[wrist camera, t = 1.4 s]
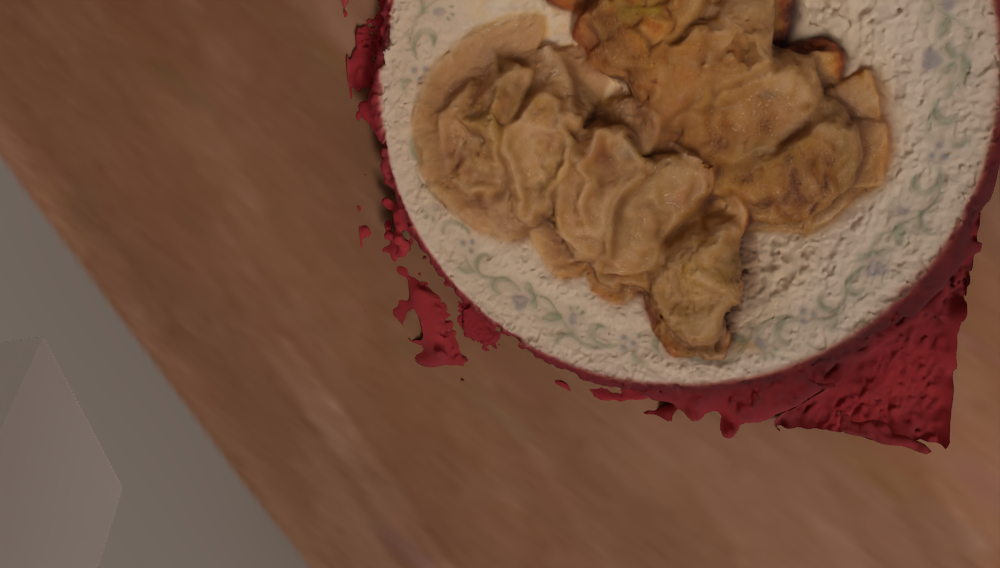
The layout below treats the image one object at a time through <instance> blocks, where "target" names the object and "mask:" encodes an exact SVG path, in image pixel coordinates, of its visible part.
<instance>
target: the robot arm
mask: <svg viewBox="0 0 1000 568" xmlns="http://www.w3.org/2000/svg"><path fill="white" fill-rule="evenodd" d="M122 488H123V487H122V485H121V483H120V481H119V479H118V477H117V476H116V474H115V472H114V470H113V468H112V466H111V464H110V463H109V460H108V459H107V457H106V455H105V453H104V451H103V449H102V447H101V445H100V443H99V441H98V439H97V438H96V436H95V434H94V432H93V430H92V428H91V426H90V424H89V422H88V420H87V419H86V417H85V415H84V413H83V411H82V409H81V407H80V405H79V403H78V402H77V400H76V398H75V396H74V394H73V392H72V390H71V388H70V386H69V384H68V383H67V381H66V379H65V377H64V375H63V373H62V371H61V369H60V367H59V365H58V363H57V362H56V360H55V358H54V356H53V354H52V352H51V350H50V348H49V346H48V344H47V343H46V341H45V339H44V337H35V338H28V339H19V340H11V341H5V342H0V568H99V564H100V561H101V558H102V554H103V551H104V548H105V545H106V541H107V538H108V534H109V531H110V527H111V525H112V521H113V518H114V514H115V511H116V508H117V505H118V501H119V498H120V495H121V491H122Z"/></svg>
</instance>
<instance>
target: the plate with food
mask: <svg viewBox="0 0 1000 568" xmlns="http://www.w3.org/2000/svg"><path fill="white" fill-rule="evenodd" d="M378 1H380V3H379V4H380V7H381V9H382V10H380V11H379V13H378V15H377V16H376V17H375V19H374V20H371V19H368V20H367V24H366V25H364V26H362V27H359V28H357V32H356V35H355V40H356V49H355V50H354V51H353V53H352V57H351V59H349V58H348V54H347V72H348V82H349V86H350V97H351V98H352V87H354V88H355V89H356V91H357V92H359V91H360V90H361V89H362V88H371V90H370V92H369V95H368V100H367V101H362V102H360V103H359V105H358V108H359V111H358V112H357V114H356V118H357V120H358V121H359V120H360V118H361V117H362V118H363V119H364V120H366V121H367V122H368V123H369V124H370V126H371V128H372V130H373V131H374V133H375V135H376V137H377V139H378V140H379V141H380V142H381V144H383V147H384V148H382V149H381V156H382V157H383V161H382V163H381V171H382V173H383V175H384V183H385V184H387V185H388V186H389V187H391V188H392V189H393V190H394V192H395V199H397V202H393V201H392V200H391V199H390V198H383V199H382V204H383V205H384V206H385V207H386V208H388V209H389V210H392V211H393V220H394V225H395V228H396V230H395V232H393V231H391V229H392V222H391V221H390V220H387V221H386V222H385V224H384V227H385V230H386V232H385V234H384V237H385V239H387V240H389V241H391V243H390V244H389V245H388V246H386V247H384V248H383V249H382V251H383V252H388V253H390V255H391V258H392V260H393V261H394V262H395V261H396V260H397V258H398V257H404V256H406V254H407V252H408V251H409V250H410V249H411V245H412V244H413V240H412V238H414V239H415V240H416V241H417V242H418V244H419V247H420V249H422V251H424V252H425V253H427V254H428V256H429V258H430V264H431V265H433V266H434V268H435V270H436V271H437V273H438V275H439V276H441V277H444V278H445V282H444V285H445V286H450V287H453V288H454V289H455V293H456V295H457V296H458V297H460V298H461V300H462V301H463V303H461V302H460V301H458V303H459V306H458V307H460V309H459V310H458V311H459V312H460V313H462V311H464V312H463V313H462V314H461V315H459V316H458V318H457V320H458V323H459V325H460V326H461V327H464V328H463V329H464V331H465V332H464V336H465V337H468V338H471V339H472V340H473V341H475V340H476V341H477V342H479V341H480V343H481V344H483V347H482V349H483V350H485V351H489V349H488V348H487V346H488V345H489V344H490V345H492V347H493V348H495V349H497V346H496V345H495V343H496V342H497V341H498V340H499V339H500V335H501V334H500V332H501V333H502V334H505V335H507V336H511V335H512V336H514V337H516V338H517V339H518V340H519V341H520V343H519V345H518V346H519V347H520V348H521V349H524V348H525V349H527V350H529V351H531V352H532V353H533V354H534V356H535V357H536V358H540V359H543V360H544V361H545V362H546V363H548V364H553V365H555V367H557V368H560V369H567V370H569V371H571V372H574V373H576V374H577V375H578V376H579V378H580V379H582V380H585V381H590V382H593V383H595V384H600V385H603V386H609V387H620V388H622V389H621V391H622V393H621V394H619V393H612V392H610V391H609V390H608V389H604V388H600V389H590V391H591V392H592V393H593V395H594V396H595V397H597V398H598V399H600V400H618V401H625V400H629V399H633V400H639V399H646V398H648V397H649V398H651V399H652V400H656V401H666V402H670V403H672V404H669V405H666V406H663V407H661V408H659V409H657V410H655V411H646V412H644V413H645V414H654V415H658V416H660V417H662V418H663V419H665V420H667V421H672V416H673V414H674V412H675V411H676V410H677V409H680V410H682V411H683V412H684V413H685V414H686V415H687V417H688V418H689V419H690V420H692V421H698V420H700V419H701V418H702V417H703V416H704V414H705V413H708V412H711V411H717V412H719V413H720V414H721V416H722V417H721V422H720V430H721V432H722V435H723V436H724V437H725V438H732V437H734V436H735V434H736V432H737V431H738V429H739V426H740V425H741V424H744V423H752V422H761V421H763V420H767V419H769V418H772V417H773V416H775V415H776V414H779V413H781V412H783V414H782V415H781V416H779V417H778V418H777V419H776V420H775V422H774V425H775V427H776V428H777V425H782V426H783V427H785V428H788V429H790V428H795V427H801V428H805V429H812V428H818V429H827V430H830V431H837V432H842V431H843V432H844V433H847V434H851V435H856V436H862V437H865V438H867V439H870V440H874V441H876V442H878V443H881V444H886V445H895V446H904V447H907V448H910V449H913V450H915V451H917V452H920V453H924V454H928V453H930V452H931V450H930V449H929V448H928V447H927V446H926V445H924V444H922V443H921V442H919V441H916V440H918V439H922V440H925V441H927V442H937V443H939V444H941V445H942V446H943V447H944V448H945V449H946V448H947V447H948V445H949V443H950V419H951V409H952V402H953V393H954V386H953V371H954V370H955V369H957V360H956V350H957V334H958V332H959V328H960V325H961V322H963V321H964V319H965V318H966V316H967V303H966V301H965V300H964V295H965V296H966V292H967V286H968V285H969V284H970V275H969V271H971V270H972V267H973V257H974V254H976V253H978V252H980V251H981V245H982V243H980V242H977V231H978V228H979V225H980V211H981V210H982V208H983V207H984V206H985V204H986V203H987V202H989V200H990V199H991V196H992V193H993V190H994V187H995V183H996V179H997V174H998V169H999V165H1000V0H378ZM348 2H349V0H342V4H343V7H344V8H345V6H346V5H347V4H348ZM344 16H345V17H346V16H347V12H346V11H345V9H344ZM370 22H371V23H372V25H373V27H371V29H370V28H369V27H368V25H369V23H370ZM375 26H377V32H376V29H375V28H374V27H375ZM370 31H371V32H373V33H374V34H376V35H375V36H373V35H371V34H370ZM377 35H378V37H377ZM367 44H368V46H366V45H367ZM377 45H378V47H377ZM372 56H373V57H375V58H376V61H375V62H374V61H373V59H372ZM372 79H373V83H372ZM365 175H366V174H365ZM360 210H361V208H360V206H358V211H360ZM403 230H406V231H408V232H409V234H410V235H411V237H412V238H410V240H409V241H408V240H406V239H405V238H404V237H403V235H402V233H401V232H402V231H403ZM359 232H360V244H361V248H362V239H363V238H365V237H368V236H370V234H371V232H370V230H369V228H368V227H367V226H365V225H364V226H359ZM423 259H426V256H424V257H423ZM397 272H398V273H399V274H400V275H402V276H405V277H406V278H407V279H408V285H409V294H410V296H409V300H408V301H405V300H400V301H399V303H398V307H396V308H394V309H393V314H394V316H395V317H396V318H397V319H398V320H399V321H400V322H401V324H402V323H403V321H404V319H405V315H406V313H407V312H408V311H409V310H411V309H415V311H416V313H417V314H418V316H419V319H420V321H421V327H422V332H423V338H422V340H415V341H411V340H410V339H409V338H408V339H409V340H410V341H411V342H414V343H417V344H419V345H422V347H423V349H424V350H423V351H422V352H421V353H419V354H418V355H416V357H415V360H416V362H417V363H418V364H420V365H422V366H425V367H437V366H441V365H461V366H463V365H464V363H465V362H467V361H468V359H467V358H466V357H464V356H463V355H462V354H461V353H460V351H459V346H458V343H457V341H456V338H455V334H456V331H454V330H452V327H453V322H452V321H446V320H445V319H446V318H448V317H449V316H450V314H448V313H447V312H446V311H447V306H446V304H445V303H444V302H442V303H440V302H441V298H440V297H439V296H438V295H437V294H435V293H433V292H432V291H431V290H430V289H429V288H428V287H427V286H428V283H427V282H419V281H418V280H417V279H416V278H414V277H411V276H409V274H408V271H407V269H406V268H404V267H402V266H398V267H397ZM418 275H419V276H420V275H421V273H419V274H418ZM423 284H424V285H425V286H424V285H423ZM365 312H366V311H365ZM463 320H464V321H463ZM496 327H501V330H500V332H496V331H495V329H496ZM447 330H450V331H447ZM474 339H475V340H474ZM498 345H500V344H498ZM455 353H456V354H455ZM461 381H464V380H461ZM555 383H556V384H558V385H559V386H561V387H563V388H566V389H567V390H569V391H570V388H569V386H568V384H567V383H565V382H563V381H559V380H555ZM823 389H824V391H822V390H823ZM825 389H826V390H825ZM820 391H822V392H820ZM819 392H820V393H819ZM816 393H818V394H816ZM815 394H816V395H815ZM806 407H807V408H806ZM777 429H778V428H777ZM778 430H779V431H780V429H778Z"/></svg>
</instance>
